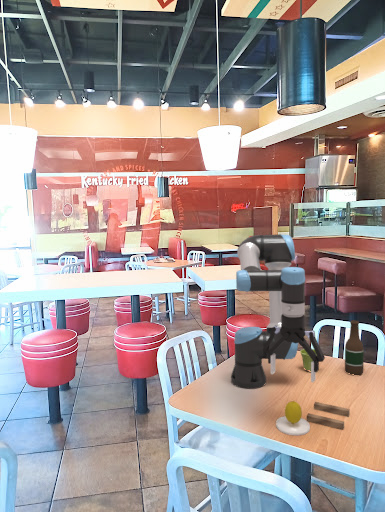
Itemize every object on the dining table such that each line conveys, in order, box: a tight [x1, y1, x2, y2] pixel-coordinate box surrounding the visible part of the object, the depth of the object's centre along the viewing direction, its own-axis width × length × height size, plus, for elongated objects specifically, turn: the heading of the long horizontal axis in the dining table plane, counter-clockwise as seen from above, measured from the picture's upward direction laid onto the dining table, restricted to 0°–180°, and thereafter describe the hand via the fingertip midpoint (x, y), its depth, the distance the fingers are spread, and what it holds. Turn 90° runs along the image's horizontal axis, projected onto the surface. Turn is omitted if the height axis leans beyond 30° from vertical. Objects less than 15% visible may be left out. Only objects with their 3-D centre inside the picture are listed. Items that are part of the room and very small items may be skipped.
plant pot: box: [299, 348, 317, 371], centre depth 181 cm, size 9×9×9 cm
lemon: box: [284, 400, 303, 424], centre depth 131 cm, size 6×6×8 cm
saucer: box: [275, 415, 311, 436], centre depth 132 cm, size 11×11×1 cm
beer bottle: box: [344, 319, 365, 376], centre depth 177 cm, size 8×8×24 cm
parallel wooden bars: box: [306, 401, 350, 430], centre depth 137 cm, size 12×12×2 cm
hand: (292, 376), depth 131 cm, fingers open, 13 cm apart
